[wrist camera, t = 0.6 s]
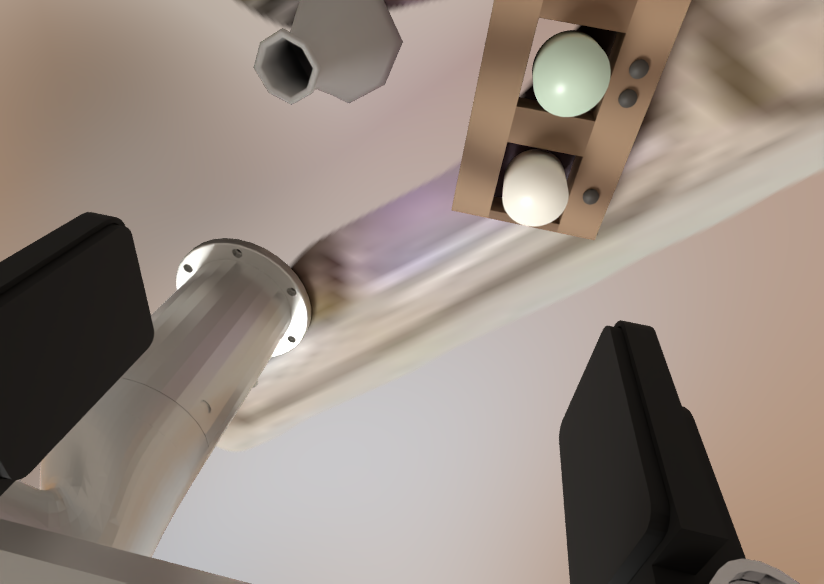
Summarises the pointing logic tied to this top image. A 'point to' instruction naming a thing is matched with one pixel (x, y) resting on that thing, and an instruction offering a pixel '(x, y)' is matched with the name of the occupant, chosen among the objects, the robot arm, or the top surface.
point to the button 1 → (535, 188)
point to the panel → (579, 135)
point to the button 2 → (570, 74)
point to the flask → (330, 50)
